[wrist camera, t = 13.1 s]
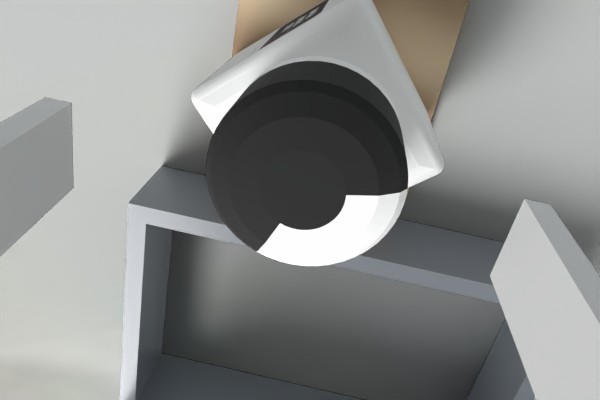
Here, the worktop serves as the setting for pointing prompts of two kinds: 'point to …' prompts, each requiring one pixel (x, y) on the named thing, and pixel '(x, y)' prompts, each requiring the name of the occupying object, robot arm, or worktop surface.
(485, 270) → the case
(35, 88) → the worktop surface
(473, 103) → the worktop surface
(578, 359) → the robot arm
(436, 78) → the mat
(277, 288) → the worktop surface
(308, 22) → the container
